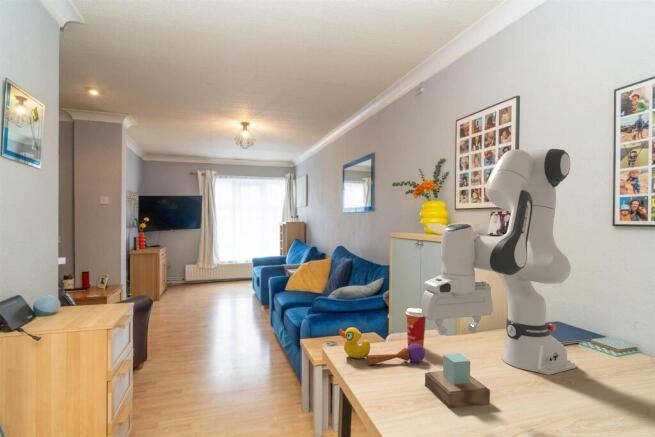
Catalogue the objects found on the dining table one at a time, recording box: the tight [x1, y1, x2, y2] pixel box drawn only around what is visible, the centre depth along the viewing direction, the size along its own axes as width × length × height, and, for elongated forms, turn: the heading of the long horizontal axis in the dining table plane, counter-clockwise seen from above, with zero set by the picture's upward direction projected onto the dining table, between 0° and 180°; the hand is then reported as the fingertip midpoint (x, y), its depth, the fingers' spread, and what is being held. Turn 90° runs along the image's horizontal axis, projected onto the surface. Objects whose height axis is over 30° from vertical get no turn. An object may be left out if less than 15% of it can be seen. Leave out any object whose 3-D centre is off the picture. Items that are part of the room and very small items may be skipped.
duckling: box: [338, 326, 371, 359], centre depth 116 cm, size 11×5×10 cm, turn 64°
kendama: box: [365, 343, 426, 366], centre depth 112 cm, size 6×6×20 cm
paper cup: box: [405, 307, 427, 349], centre depth 126 cm, size 8×8×14 cm
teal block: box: [442, 353, 471, 385], centre depth 92 cm, size 5×5×6 cm
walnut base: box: [424, 370, 491, 409], centre depth 92 cm, size 12×12×4 cm
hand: (457, 332), depth 93 cm, fingers open, 8 cm apart
